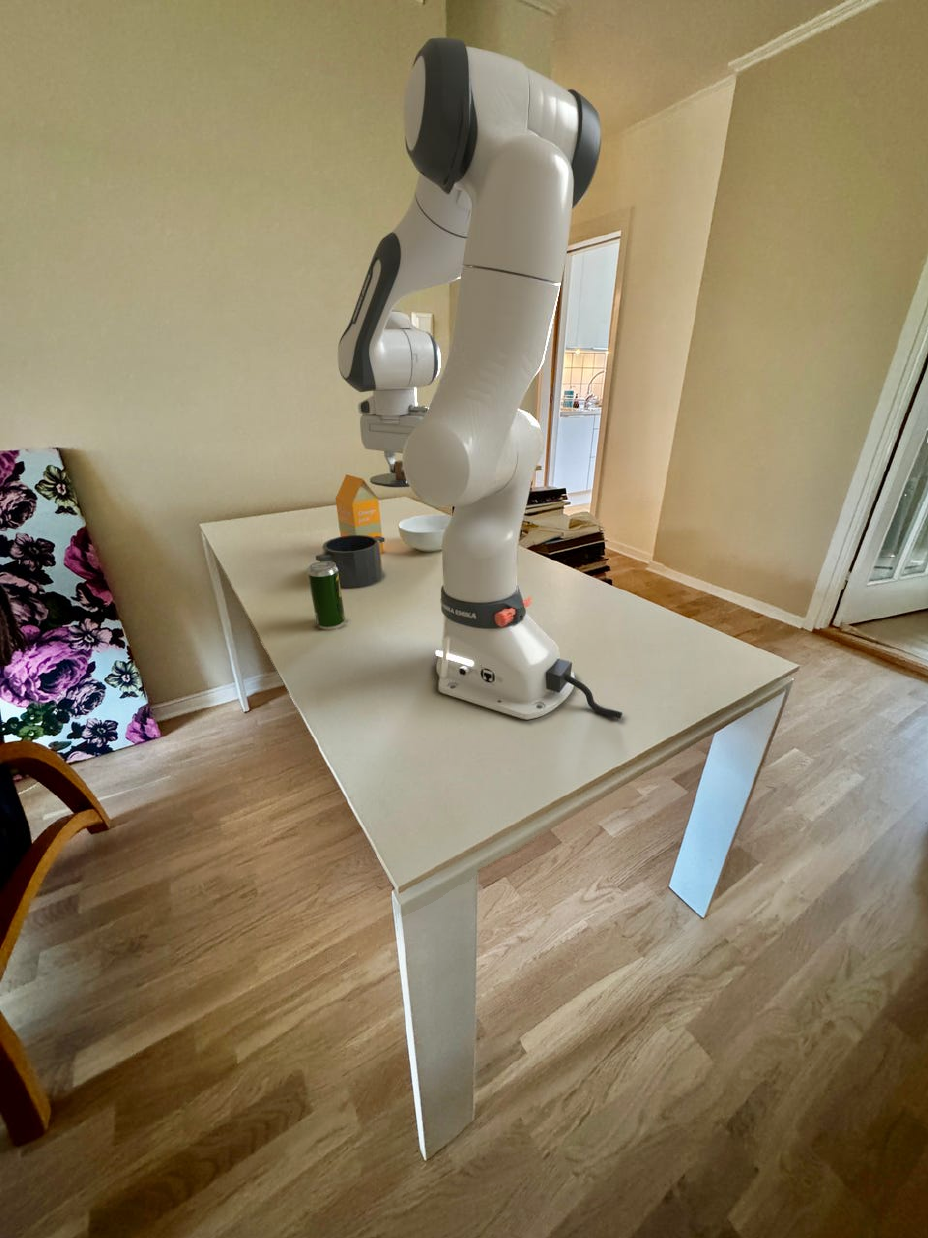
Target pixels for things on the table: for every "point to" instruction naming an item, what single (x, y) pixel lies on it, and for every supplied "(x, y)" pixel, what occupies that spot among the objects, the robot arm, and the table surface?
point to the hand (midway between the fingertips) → (400, 473)
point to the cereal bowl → (424, 531)
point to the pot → (355, 559)
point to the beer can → (326, 595)
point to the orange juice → (358, 509)
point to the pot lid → (391, 477)
